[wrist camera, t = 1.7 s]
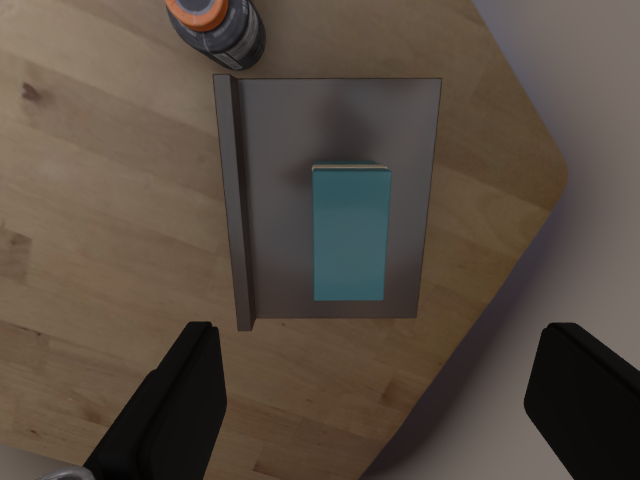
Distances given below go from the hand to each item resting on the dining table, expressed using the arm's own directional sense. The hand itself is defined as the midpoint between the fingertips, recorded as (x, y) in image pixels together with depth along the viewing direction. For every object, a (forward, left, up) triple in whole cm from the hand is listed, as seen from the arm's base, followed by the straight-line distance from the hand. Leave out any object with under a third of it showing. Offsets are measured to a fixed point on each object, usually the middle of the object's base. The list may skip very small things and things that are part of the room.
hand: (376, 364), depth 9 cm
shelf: (+1, 0, -28) cm, 28 cm away
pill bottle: (+10, -15, -28) cm, 33 cm away
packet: (0, 0, -18) cm, 18 cm away
